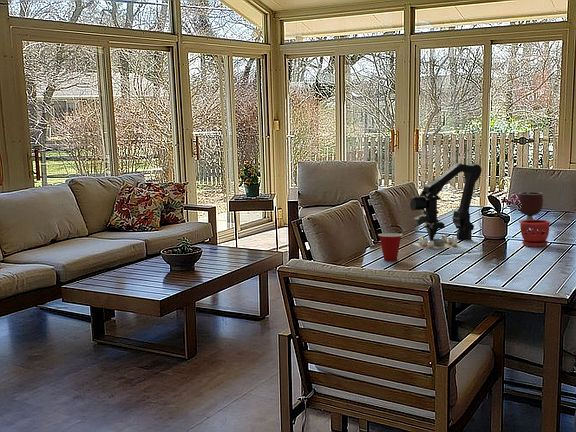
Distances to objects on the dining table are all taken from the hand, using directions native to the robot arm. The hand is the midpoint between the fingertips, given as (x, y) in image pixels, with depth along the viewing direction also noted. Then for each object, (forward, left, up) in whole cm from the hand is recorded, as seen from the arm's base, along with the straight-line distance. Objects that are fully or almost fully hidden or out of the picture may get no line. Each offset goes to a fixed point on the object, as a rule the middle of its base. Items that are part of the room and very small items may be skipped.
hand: (431, 240), depth 320 cm
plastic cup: (+31, +26, -2) cm, 41 cm away
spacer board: (0, +8, -2) cm, 8 cm away
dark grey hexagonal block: (0, +8, -1) cm, 8 cm away
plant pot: (-45, +19, -2) cm, 49 cm away
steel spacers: (0, +8, -1) cm, 8 cm away
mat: (0, +20, -2) cm, 20 cm away
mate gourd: (-80, -42, -2) cm, 90 cm away
